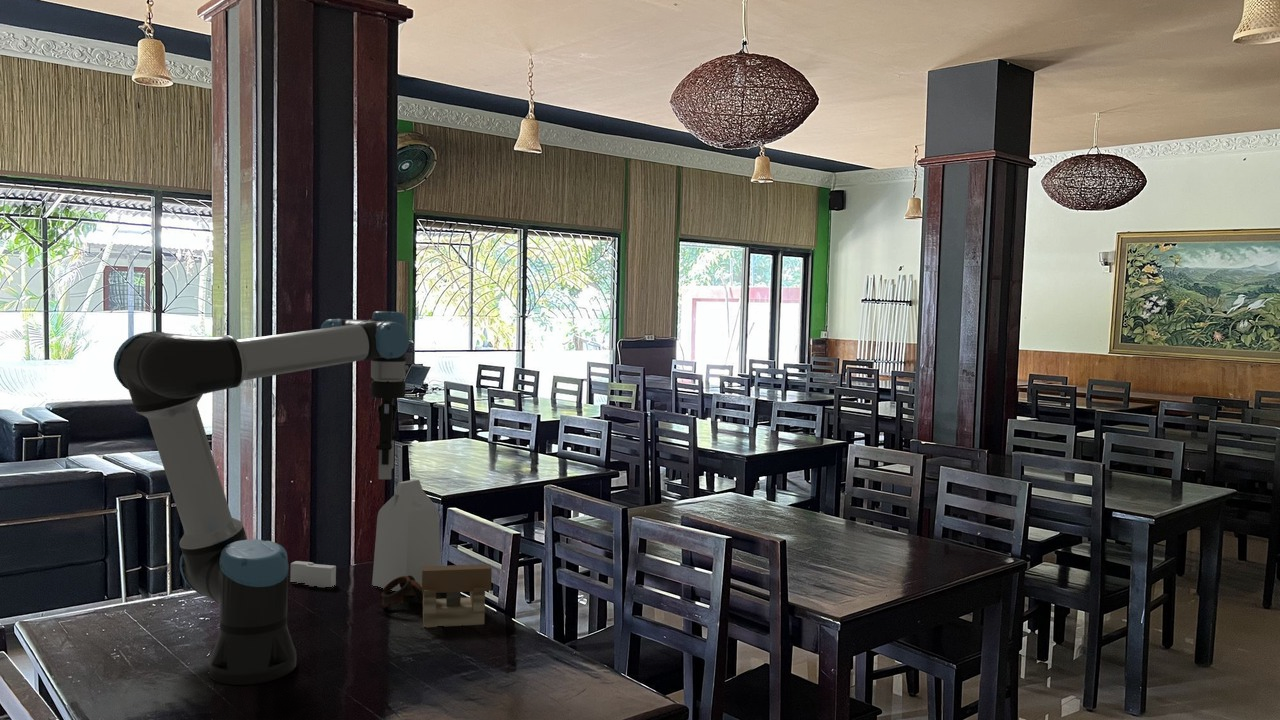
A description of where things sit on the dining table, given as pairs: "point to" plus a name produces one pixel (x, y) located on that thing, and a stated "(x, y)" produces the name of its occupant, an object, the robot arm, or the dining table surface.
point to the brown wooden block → (456, 578)
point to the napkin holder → (313, 574)
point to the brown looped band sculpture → (402, 591)
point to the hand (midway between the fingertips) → (386, 473)
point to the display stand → (453, 609)
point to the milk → (406, 535)
